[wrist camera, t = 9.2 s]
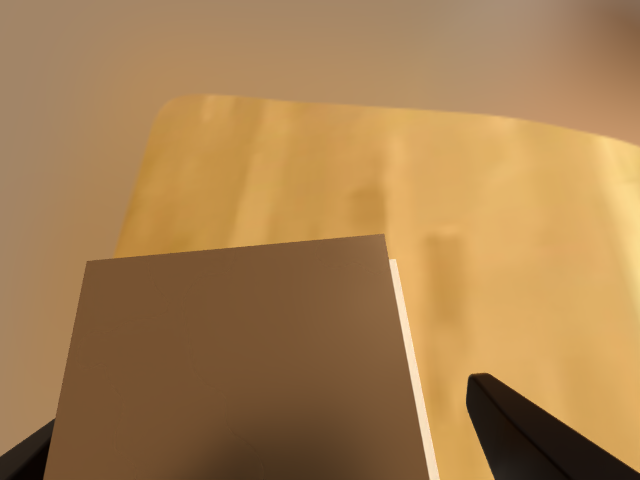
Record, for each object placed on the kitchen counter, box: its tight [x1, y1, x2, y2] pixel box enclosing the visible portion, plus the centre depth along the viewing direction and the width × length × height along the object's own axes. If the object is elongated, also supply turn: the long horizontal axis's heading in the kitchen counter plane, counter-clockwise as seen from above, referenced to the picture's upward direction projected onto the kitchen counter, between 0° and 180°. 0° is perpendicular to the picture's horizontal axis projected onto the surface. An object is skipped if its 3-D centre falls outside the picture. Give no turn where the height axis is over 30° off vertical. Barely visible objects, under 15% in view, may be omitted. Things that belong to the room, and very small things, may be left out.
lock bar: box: [43, 234, 430, 480], centre depth 10 cm, size 4×4×12 cm
